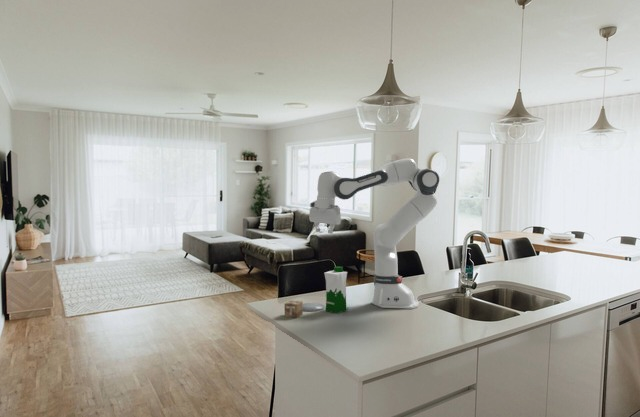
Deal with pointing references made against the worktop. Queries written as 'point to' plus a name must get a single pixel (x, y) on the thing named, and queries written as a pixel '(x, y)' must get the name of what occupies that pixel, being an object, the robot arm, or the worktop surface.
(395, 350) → the worktop surface
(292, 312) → the letter cube
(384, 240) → the robot arm
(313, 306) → the coaster
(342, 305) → the soya milk
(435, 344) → the worktop surface
